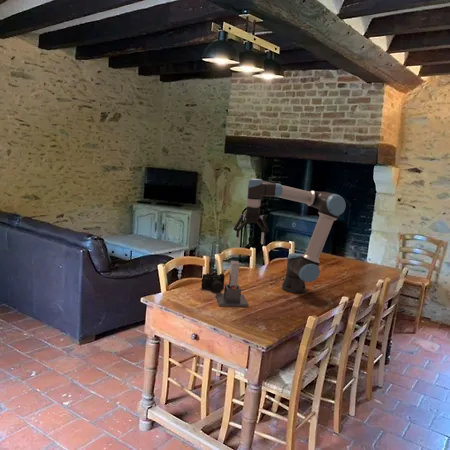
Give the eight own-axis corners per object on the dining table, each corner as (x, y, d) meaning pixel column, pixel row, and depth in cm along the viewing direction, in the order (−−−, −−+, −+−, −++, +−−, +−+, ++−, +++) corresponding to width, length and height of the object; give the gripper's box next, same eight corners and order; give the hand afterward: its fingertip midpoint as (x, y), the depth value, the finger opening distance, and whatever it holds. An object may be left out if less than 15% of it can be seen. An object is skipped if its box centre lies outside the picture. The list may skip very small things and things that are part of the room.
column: (234, 296, 238) (237, 261, 234) (236, 300, 232) (239, 264, 228) (227, 296, 237) (230, 260, 234) (229, 300, 231) (232, 263, 228)
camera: (204, 293, 244) (205, 276, 242) (200, 287, 254) (201, 271, 253) (227, 293, 248) (228, 276, 246) (222, 287, 258) (223, 271, 256)
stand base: (242, 296, 244) (244, 281, 242) (248, 307, 228) (250, 290, 227) (215, 295, 241) (217, 280, 240) (219, 306, 226) (220, 289, 224)
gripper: (273, 206, 240) (269, 242, 244) (230, 204, 236) (227, 241, 240) (276, 208, 233) (273, 245, 236) (232, 206, 229) (229, 244, 232)
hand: (250, 243), depth 238 cm, fingers open, 13 cm apart
